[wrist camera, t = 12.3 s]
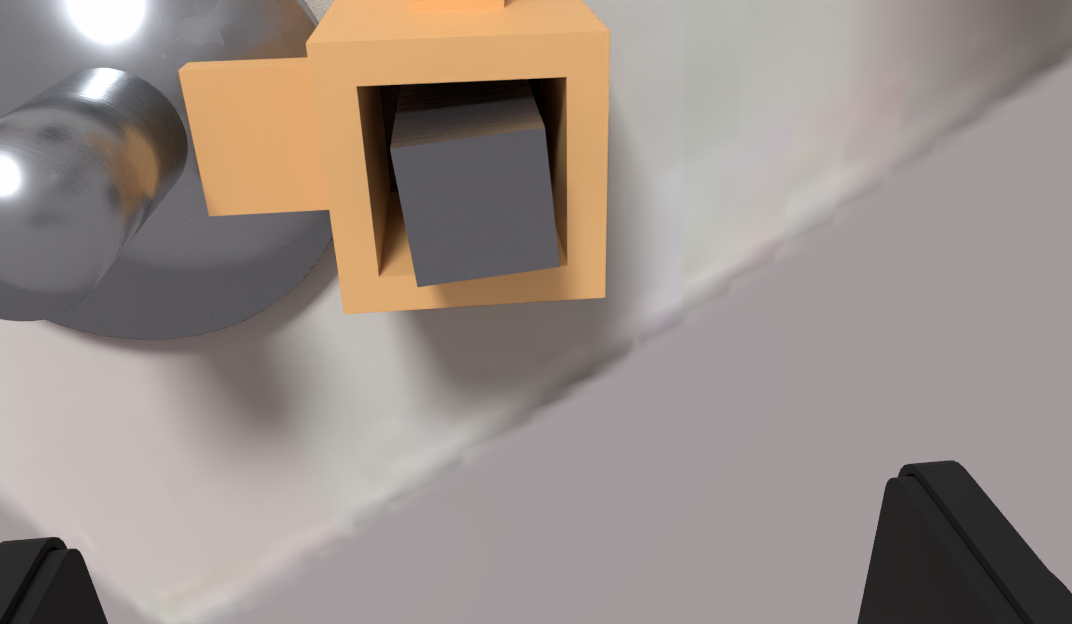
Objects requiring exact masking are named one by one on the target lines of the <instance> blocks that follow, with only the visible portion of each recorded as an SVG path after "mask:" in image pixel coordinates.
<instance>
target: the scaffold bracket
mask: <svg viewBox="0 0 1072 624" xmlns="http://www.w3.org/2000/svg"><path fill="white" fill-rule="evenodd" d="M306 49H307V57H305V58H281V59H257V60H233V61H209V62H188V63H186V64H185V65H184V66H183V67H182V68H181V69H179V70H178V72H179V77H180V81H181V86H182V91H183V96H184V100H185V105H186V110H187V114H188V119H189V124H190V129H191V133H192V138H193V143H194V147H195V152H196V157H197V162H198V166H199V171H200V176H201V180H202V185H203V190H204V195H205V199H206V204H207V209H208V213H209V216H223V215H242V214H260V213H278V212H296V211H315V210H329V212H330V219H331V226H332V233H333V240H334V247H335V254H336V261H337V268H338V275H339V282H340V289H341V296H342V303H343V310H344V314H354V313H370V312H386V311H401V310H417V309H433V308H448V307H464V306H480V305H496V304H511V303H527V302H543V301H558V300H574V299H590V298H605V278H606V223H607V167H608V112H609V57H610V30H609V29H608V28H607V27H606V26H605V25H604V24H603V23H602V22H601V21H600V19H599V18H598V17H597V16H596V15H595V14H594V13H593V12H592V11H591V10H590V9H589V8H588V6H587V5H586V4H585V3H584V2H583V1H582V0H335V1H334V2H333V4H332V5H331V7H330V8H329V10H328V11H327V13H326V14H325V16H324V17H323V18H322V20H321V21H320V23H319V24H318V26H317V27H316V29H315V30H314V32H313V33H312V35H311V36H310V37H309V39H308V40H307V42H306ZM534 78H541V119H542V121H543V124H544V127H545V134H546V143H547V152H548V161H549V171H550V180H551V189H552V198H553V207H554V217H555V226H556V235H557V244H558V253H559V262H560V267H556V268H549V269H543V270H536V271H529V272H522V273H515V274H508V275H501V276H494V277H487V278H480V279H473V280H466V281H459V282H452V283H445V284H438V285H431V286H424V287H417V283H416V278H415V273H414V267H413V262H412V257H411V252H410V247H409V242H408V237H407V232H406V227H405V222H404V217H403V212H402V207H401V202H400V197H399V192H398V191H395V192H391V187H390V177H389V168H388V158H387V149H386V139H385V130H384V120H383V111H382V101H381V92H380V85H398V84H421V83H443V82H466V81H489V80H511V79H534Z"/></svg>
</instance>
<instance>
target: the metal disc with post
mask: <svg viewBox="0 0 1072 624" xmlns="http://www.w3.org/2000/svg"><path fill="white" fill-rule="evenodd" d="M318 24H319V23H318V21H317V19H316V18H315V16H314V15H313V13H312V11H311V10H310V8H309V7H308V5H307V4H306V2H305V1H304V0H0V319H4V320H11V321H36V320H43V319H46V320H49V321H51V322H54V323H57V324H60V325H63V326H67V327H70V328H73V329H76V330H79V331H84V332H89V333H93V334H98V335H103V336H108V337H117V338H127V339H137V340H153V339H174V338H182V337H190V336H196V335H200V334H204V333H208V332H212V331H216V330H220V329H223V328H226V327H228V326H231V325H233V324H236V323H239V322H241V321H244V320H246V319H248V318H250V317H252V316H253V315H255V314H257V313H259V312H261V311H263V310H265V309H267V308H268V307H269V306H271V305H272V304H274V303H275V302H276V301H278V300H279V299H280V298H282V297H283V296H285V295H286V294H287V293H288V292H289V291H290V290H292V289H293V288H294V287H295V286H296V285H297V284H298V283H299V282H300V281H301V280H302V279H303V278H304V277H305V276H306V275H307V274H308V272H309V271H310V270H311V268H312V267H313V266H314V265H315V263H316V262H317V261H318V259H319V258H320V257H321V255H322V254H323V252H324V250H325V248H326V247H327V245H328V243H329V241H330V240H331V238H332V236H333V233H332V226H331V219H330V212H329V210H315V211H296V212H278V213H260V214H242V215H223V216H209V213H208V209H207V204H206V199H205V195H204V190H203V185H202V180H201V176H200V171H199V166H198V162H197V157H196V152H195V147H194V143H193V138H192V133H191V129H190V124H189V119H188V114H187V110H186V105H185V100H184V96H183V91H182V86H181V81H180V77H179V72H178V70H179V69H181V68H182V67H183V66H184V65H185V64H186V63H188V62H209V61H233V60H257V59H281V58H305V57H307V49H306V42H307V40H308V39H309V37H310V36H311V35H312V33H313V32H314V30H315V29H316V27H317V26H318Z"/></svg>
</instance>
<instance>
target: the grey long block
mask: <svg viewBox="0 0 1072 624" xmlns="http://www.w3.org/2000/svg"><path fill="white" fill-rule="evenodd" d="M390 151H391V156H392V162H393V167H394V172H395V177H396V182H397V187H398V192H399V197H400V202H401V207H402V212H403V217H404V222H405V227H406V232H407V237H408V242H409V247H410V252H411V257H412V262H413V267H414V273H415V278H416V283H417V287H424V286H431V285H438V284H445V283H452V282H459V281H466V280H473V279H480V278H487V277H494V276H501V275H508V274H515V273H522V272H529V271H536V270H543V269H549V268H556V267H560V262H559V253H558V244H557V235H556V226H555V217H554V207H553V198H552V189H551V180H550V171H549V161H548V152H547V143H546V134H545V127H544V124H543V121H542V119H541V116H540V113H539V110H538V108H537V105H536V102H535V100H534V97H533V94H532V92H531V89H530V86H529V83H528V81H527V79H511V80H489V81H466V82H443V83H421V84H401V86H400V92H399V98H398V104H397V110H396V116H395V122H394V128H393V134H392V140H391V146H390Z"/></svg>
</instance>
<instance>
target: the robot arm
mask: <svg viewBox="0 0 1072 624" xmlns="http://www.w3.org/2000/svg"><path fill="white" fill-rule="evenodd" d="M0 624H108V622H107V620H106V617H105V615H104V612H103V609H102V607H101V604H100V601H99V599H98V596H97V593H96V591H95V588H94V585H93V583H92V580H91V577H90V575H89V572H88V569H87V567H86V564H85V561H84V559H83V556H82V555H81V553H80V551H78V550H77V549H67V547H66V545H65V543H64V542H63V541H62V540H61V539H60V538H57V537H49V538H37V539H26V540H14V541H3V542H1V543H0ZM858 624H1072V593H1071V592H1070V591H1069V590H1068V589H1067V587H1066V586H1065V585H1064V584H1063V583H1062V582H1061V581H1060V580H1059V579H1058V578H1057V577H1056V576H1055V575H1054V574H1052V573H1051V572H1050V571H1049V570H1048V569H1047V567H1046V566H1045V565H1044V564H1043V563H1042V561H1041V560H1040V559H1039V558H1038V557H1037V555H1036V554H1035V553H1034V552H1033V550H1032V549H1031V548H1030V547H1029V546H1028V544H1027V543H1026V542H1025V541H1024V540H1023V539H1022V537H1021V536H1020V535H1019V534H1018V532H1017V531H1016V530H1015V529H1014V527H1013V526H1012V525H1011V524H1010V523H1009V521H1008V520H1007V519H1006V518H1005V517H1004V515H1003V514H1002V513H1001V512H1000V510H999V509H998V508H997V507H996V506H995V504H994V503H993V502H992V501H991V500H990V498H989V497H988V496H987V495H986V494H985V492H984V491H983V490H982V489H981V487H980V486H979V485H978V484H977V483H976V481H975V480H974V479H973V478H972V477H971V475H970V474H969V473H968V472H967V471H966V469H965V468H964V467H963V466H961V465H960V464H959V463H958V462H955V461H952V460H951V461H939V462H928V463H916V464H908V465H904V466H903V467H902V469H901V470H900V472H899V475H898V477H897V478H891V479H889V481H888V482H887V484H886V487H885V492H884V497H883V502H882V507H881V511H880V516H879V521H878V526H877V531H876V536H875V540H874V546H873V550H872V555H871V560H870V565H869V570H868V574H867V579H866V584H865V589H864V594H863V599H862V604H861V609H860V613H859V618H858Z"/></svg>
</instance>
